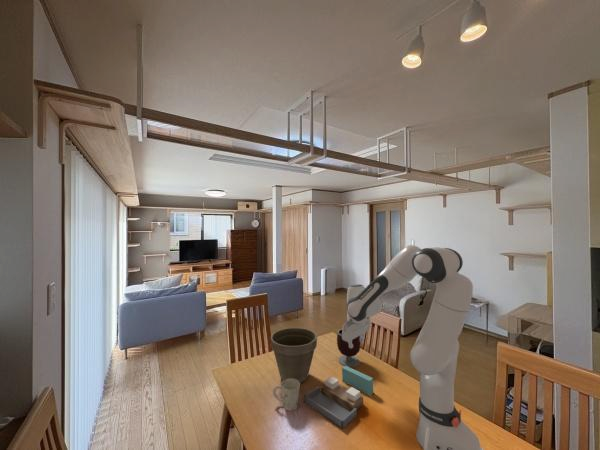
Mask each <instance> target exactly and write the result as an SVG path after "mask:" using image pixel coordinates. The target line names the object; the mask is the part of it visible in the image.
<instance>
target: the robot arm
mask: <svg viewBox="0 0 600 450" xmlns="http://www.w3.org/2000/svg"><path fill="white" fill-rule="evenodd" d="M463 262H464V261H463V257H462V256H461V254H460V253H459V252H458V251H456V250H455V249H452V248H450V247H448V248H447V247H437V246H436V247H426V248H422V249H421V248H420V247H419V246H416V245H413V244H411V245H407V246H405V247H404V248H402V249H401V250H399V252H397V253H396V255H395V256H394V257H393V258H392V259H391V260H390V261H389V263H388V264H386V266H385V268H383V270H382V271H381V272H380V273H379V274H378V275H377V276H376V277H375V278H374V279H373V280H372V281H371V282H370V283H369V284H368V285H366V286H364V285H363V284H353V285H349V286H348V288H347V291H346V292H347V293H346V303H347V305H346V316H347V317H346V319H347V320H346V321H344V324H343V325H342V328H341V329H342V339H343V340H344V341H346V342H348V344H349V348H353V344H352V340H353V339H355V338H356V337H358V336H360V338H359V339H360V340H359V341H360V342H361V343H363V342H364V341H365V336H366V333H367V332H369V331H370V329H371V319H370V318H371V317H373V316H376V315H378V314H380V313H381V312H382V311H383V309H384V308H383V307H384V306H383V305H384V304H383V301H382V299H381V298H380V297H381V296H382V295H384V294H386V293H388V292H392V291H395V290H398V289H401V288H402V287H404V286H405V285H407V284H409V283H411V281H412V280H413V279H414V278H415V277H416V276H417V275H419V276H420V277H422V278H424V279H426V281H428V282H429V283H430V284H435V285H436V289H435V292H434V295H433V298H432V301H431V305H430V308H429V311H428V315H427V317H426V320H425V322H424V324H423V325H422V327H421V330H420V332H419V333H418V336H417V338H416V341H415V343H414V344H413V346H412V348H411V350H410V353H409V357H410V361H411V364H412V366H413V367H414V368H415V370H417V371H418V373H420V376H419V398H418V413H419V418H418V419H419V421H418V425H417V429H416V431H415V432H416V434H415V437H416V440H417V442H418V443H419V445H420V446H421V447H422V449H423V450H485V448H483V447H481V446H482V445H481V443H480V439H479V437H478V436H477V434H476V433H475V432H474V431H473V430H472V429H471V428H470V427H469V426H468V425H467V424H466V423H465V422H464V421H463V420H462V409H459V411H458V410H457V408H456V406H455V392H454V391H455V390H454V389H455V381H456V380H455V379H456V373H457V372H456V371H457V366H458V365H457V364H458V354H459V350H460V342H459V340H458V339H459V337H460V335H461V333H462V331H463V327H464V326H465V325H464V324H465V322H466V319H467V316H468V313H469V310H470V307H471V303H472V298H473V288H474V286H473V283H472V281H471V280H470V278H468V277H467V276H466V275H464V274H461V273H459V272H460V270H462V268H463Z"/></svg>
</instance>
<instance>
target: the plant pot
mask: <svg viewBox="0 0 600 450" xmlns="http://www.w3.org/2000/svg"><path fill="white" fill-rule="evenodd" d="M317 344H318V335H317V334H316V332H314V331H313V330H311V329H308V328H303V327H287V328H281V329H278V330H277V331H275V332H273V333H272V334H271V336H270V346H271V349H272V350H273V354H274V357H275V362H276V364H277V369H278V373H279V376H280V378H281V380H282V382H283V381H284V380H286V379H290V378H293V379H296V380H298V381H299V382H300V384H301V383H304V382H305V381H306V380H307V379H308V376H309V373H310V368H311V366H312V365H311V364H312V361H313V358H314V357H313V356H314V353H315V350H316V348H317V346H318V345H317Z"/></svg>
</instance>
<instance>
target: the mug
mask: <svg viewBox="0 0 600 450" xmlns="http://www.w3.org/2000/svg"><path fill="white" fill-rule="evenodd" d="M300 387H301V383H300V382H299V381H298V380H296V379H293V378H290V379H286V380H284V381H283V380H282V381H281V384H280V385H276V386H275V387H273V390H272V394H273V397H274V398H275V399H276V400H277V401H278V402H279V401H280V402H283V407H284V409H285V410H286V411H288V412H293V411H296V410H297V409H298V406H299V397H300ZM279 389H281V392H282V393H281V394H282V398H280V397H279V396H278V395H277V390H279Z"/></svg>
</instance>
